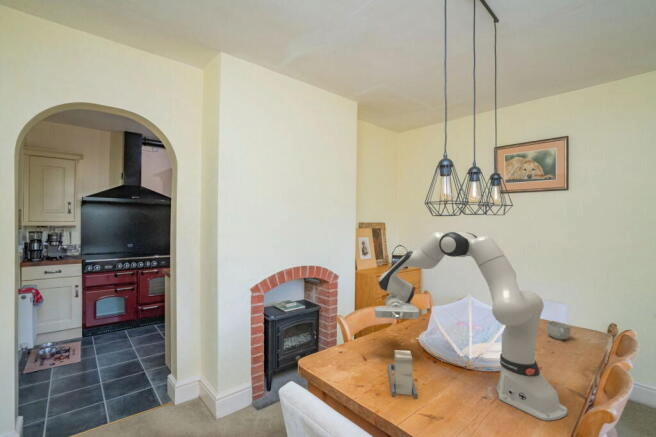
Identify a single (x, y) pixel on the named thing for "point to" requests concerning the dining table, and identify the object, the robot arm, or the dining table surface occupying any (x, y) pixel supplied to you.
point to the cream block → (403, 372)
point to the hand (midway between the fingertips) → (398, 317)
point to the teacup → (558, 330)
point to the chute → (390, 368)
